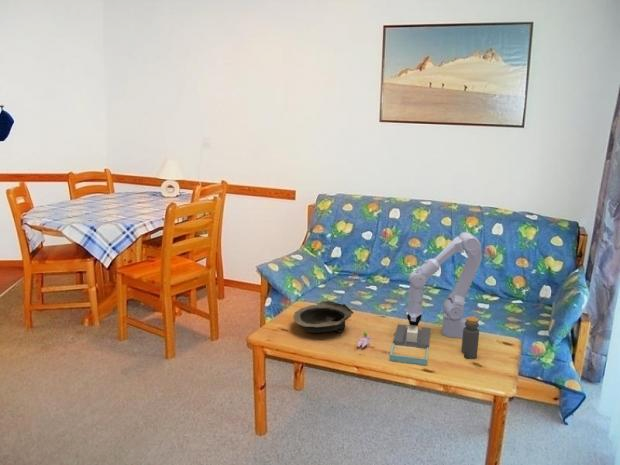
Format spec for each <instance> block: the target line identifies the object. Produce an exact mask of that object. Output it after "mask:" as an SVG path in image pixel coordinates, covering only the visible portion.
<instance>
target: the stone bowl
mask: <svg viewBox="0 0 620 465" xmlns="http://www.w3.org/2000/svg"><path fill="white" fill-rule="evenodd" d="M353 314H354V311H353V310H352V309H351V308H349V306H347V305H346V304H345V303H343V304H342V303H338V302H334V301H329V300H327V301H326V300H322V301H320V302H318V303H316V304H311V305H308V306H304V307H302V308H299V309H298V310H296V311H294V313H293V317H292V318H293V321H294V322H295V323H296V324H298V325H300V326H302V327H303V329H304V331H305V332H306V333H313V334H315V333H326V332H327V333H329V332H333V331H337V332H339V333H341V332H344V331H345V329H346V321H347V320H348V319H349V318H351V317H352V315H353Z"/></svg>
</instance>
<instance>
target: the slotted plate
mask: <svg viewBox="0 0 620 465" xmlns="http://www.w3.org/2000/svg"><path fill="white" fill-rule="evenodd" d="M407 327H408V326H407V324H399V323H398V324H397V327H396V331H395V333H394V338H393V343H395V345H394V346H401V347H409V348H416V349H423V350H424V349H426V350H427V347H428V348H429V349H430V339H431V332H432V330H431V329H432V328H431V327H424V326H422V327H421V329H418V337H417V343H416V342H407V330H408V328H407ZM393 343H392V344H393Z"/></svg>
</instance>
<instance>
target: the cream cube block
mask: <svg viewBox="0 0 620 465" xmlns="http://www.w3.org/2000/svg"><path fill="white" fill-rule="evenodd" d="M408 328H410V329H418V330H419V325H418V326H416V325H410V324H408V326H407V329H408Z"/></svg>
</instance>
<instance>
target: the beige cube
mask: <svg viewBox="0 0 620 465" xmlns="http://www.w3.org/2000/svg"><path fill="white" fill-rule="evenodd" d="M407 329H408V330H407V342H416V343H417V337H418V330H419V328H418V329H410V328H408V327H407Z"/></svg>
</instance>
